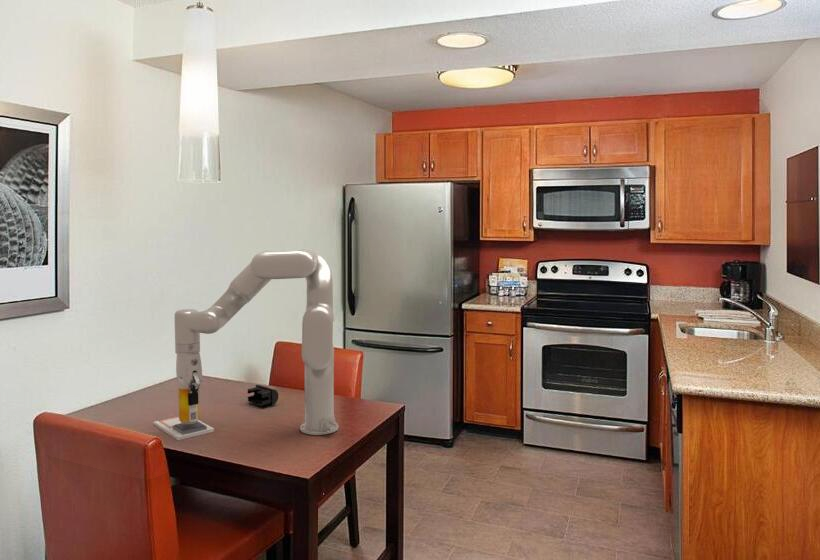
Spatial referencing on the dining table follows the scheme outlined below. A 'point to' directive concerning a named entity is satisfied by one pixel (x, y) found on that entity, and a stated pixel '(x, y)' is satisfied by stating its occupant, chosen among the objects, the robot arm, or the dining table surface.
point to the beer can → (186, 404)
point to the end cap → (262, 397)
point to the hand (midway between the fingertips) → (188, 401)
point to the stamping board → (182, 428)
